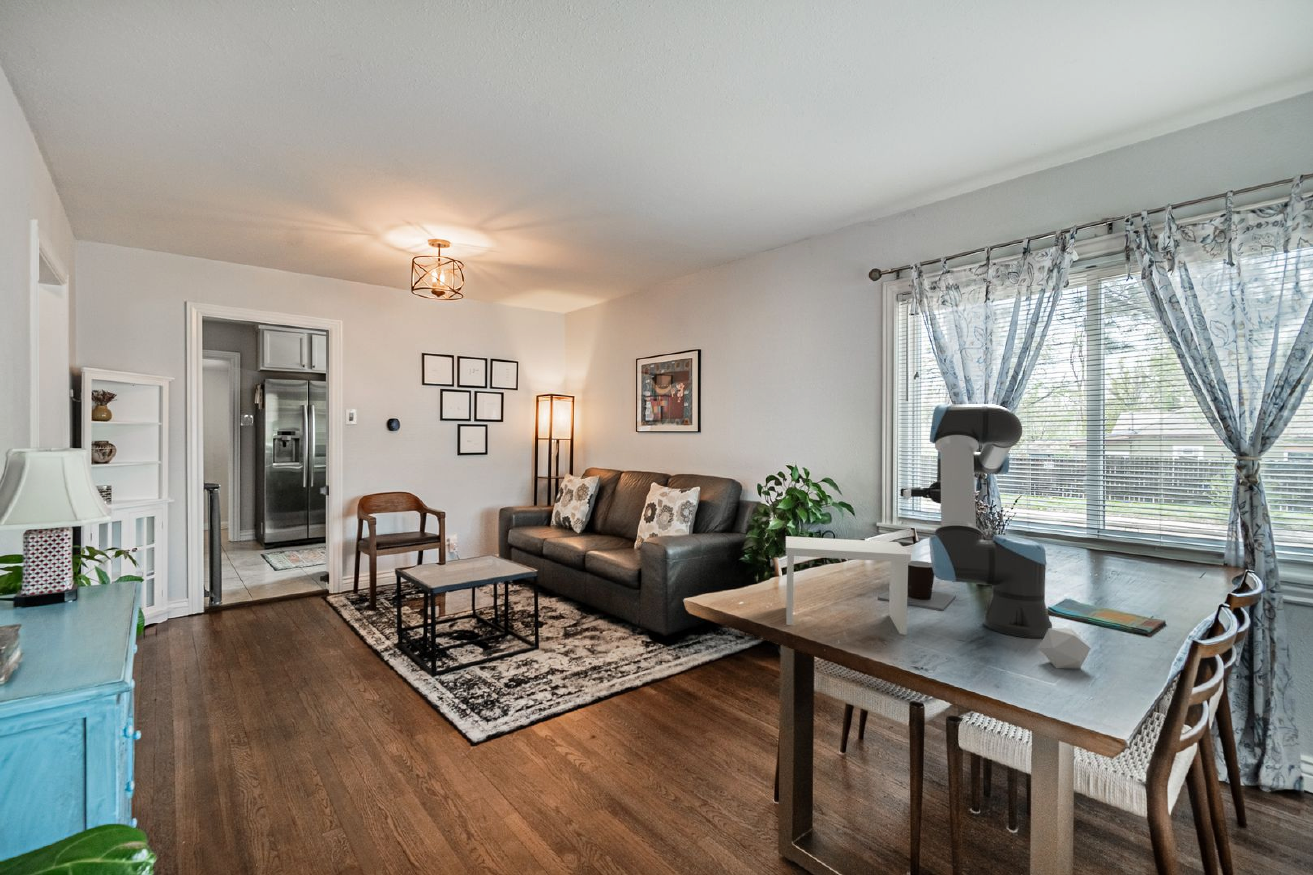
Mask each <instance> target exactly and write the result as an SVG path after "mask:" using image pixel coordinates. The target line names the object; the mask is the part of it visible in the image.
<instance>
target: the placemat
mask: <svg viewBox="0 0 1313 875" xmlns="http://www.w3.org/2000/svg"><path fill="white" fill-rule="evenodd" d="M889 591H890V588H889V589H888V590H886V591H884V592H883V593H882V594H880V595H879V596H877V600H880V601H886V602H889ZM956 598H957V595H956V594H949V593H943V592H939V591H932V595H931V599H930V600H918V599H913V598H910V597H908V591H907V606H914V607H919V608H924V609H931V610H936V611H941V612H943V611H945V610H946V609H947V607H949V605H950V604H951V603H952V602H953V601H954V600H955V599H956Z"/></svg>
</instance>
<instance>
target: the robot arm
mask: <svg viewBox="0 0 1313 875" xmlns="http://www.w3.org/2000/svg"><path fill="white" fill-rule="evenodd" d="M1021 422H1022V421H1021V420H1020V419H1019V417H1018V416H1017V415H1016V414H1015V413H1014V412H1012V411H1011V410H1009V409H1008V408H1006V407H1003V406H1000V405H997V404H992V403H990V404H986V403H985V404H983V403H982V404H981V403H980V404H953V403H948V404H947V403H946V404H938V405H937V406H935V408H934V410H933V414H932V420H931V425H930V426H931V427H930V431H929V432H930V433H929V443H932V444H934V448H935V449H936V451H937V457H936V458H937V459H936V460H937V466H936V470H937V471H936V474H937V475H936V481H934V482H933V483H932V484H930V486H929V487H923V488H921V487H911V488H908V487H907V488H905V487H904V488H902V487H901V488H900V494H899V495H900V497H903V498H902V499H903V500H909V499H911V498H916V497H917V498H918V497H919V498H923V499H930V501H932V502H934V503H936V504H940V525H939V526H938V527H937V528H936V529H935V531H934V534H933V535H930V536H929V539H928V542H929V554H930V563H931V564H932V569H933V573H934V578H935V579H938V580H940V581H946V582H947V581H948V582H952V583H963V584H964V583H966V584H976V585H984V586H991V587H992V591H991V597H990V600H989V601H988V605H987V607H986V611H985V612H984V614H983V624H984V626H985V627H986V628H989V630H993V631H995V632H998V633H1001V634H1005V635H1009V636H1015V637H1021V638H1030V639H1042V638H1044V637H1045V635H1046V633H1047V631H1048V629H1049V628H1053V623H1052V621H1051V619H1050V615H1048V612H1047V608H1048V607H1047V605H1046V602H1045V600H1046V571H1047V570H1046V566H1047V557H1046V554H1047V553H1046V549H1045V547H1044V546H1043V545H1042V544H1041V543H1038V542H1037V541H1035V540H1030V539H1027V538H1022V537H1018V536H1014V535H1008V534H1007V535H1006V534H994V535H993V537H992V539H984V534H983V531H982V530H981V529H980V528H978V527H977V520H976V519H977V516H976V492H975V474H980V475H981V474H983V475H984V474H985V475H1006V474H1008V473H1009V469H1010V455H1009V452H1010V450H1011V449H1012V447H1014V446H1015V445H1017V443H1019V441H1020V440H1021V437H1022V435H1023V426H1022V425H1023V424H1022V423H1021ZM980 445H982V447H981V450H980V451H977V450H978V449H979V448H980Z"/></svg>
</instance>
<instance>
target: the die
mask: <svg viewBox="0 0 1313 875" xmlns="http://www.w3.org/2000/svg"><path fill="white" fill-rule="evenodd" d="M1038 649H1039V651H1040V652H1041V653H1042V654H1043V655H1044V657H1046V658H1047V659H1048V661H1050V663H1051V664H1052V665H1053V666H1054V668H1056V669H1064V670H1065V669H1072V670H1073V669H1074V670H1076V669H1077V670H1079V669H1081V668H1082V666H1083V664H1084V663H1085V660H1086V659H1087V657H1088V656H1089V654H1090V653H1089V652H1090V651H1091V649H1092V648H1091V647H1090V645H1088V644H1087V643H1086V641H1084V640H1083V638H1082V637H1080V635H1078V634H1077V633H1076V631H1074V629H1072V628H1057V627H1056V628H1054V627H1052V628H1049V629H1048V631H1047V633H1046V635H1045V637H1044V638H1043V639H1042V641H1040V644H1039V646H1038Z"/></svg>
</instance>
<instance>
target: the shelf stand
mask: <svg viewBox="0 0 1313 875" xmlns="http://www.w3.org/2000/svg"><path fill="white" fill-rule="evenodd" d="M785 556H786V596H785V597H786V600H785V602H786V603H785V614H786V615H785V616H786V621H785V622H786V624H785V625H786V626H793V622H794V621H793V620H794V619H793V618H794V617H793V616H794V615H793V614H794V570H795V569H794V568H795V562H794V561H795V557H806V558H822V559H823V558H826V559H839V560H840V559H842V560H844V559H845V560H860V561H873V562H877V561H878V562H889V589H890V591H889V601H888V602H889V604H888V606H889V607H888V616H889V617H890V619H891V621H892V623H893V624H894V626H895V629H896V630H897V631H898V633H899V634H900V635H905V636H906V635H907V631H908V630H907V629H908V628H907V624H908V622H907V621H908V605H907V588H908V563H911V561H912V560H911V559H912V553H910V552H909V551H908V550H907V549H906V548H905V547H904V546H902V544H901V543H900V542H899V541H883V540H865V539H864V540H862V539H847V538H845V539H843V538H827V537H824V538H823V537H810V536H809V537H807V536H805V537H803V536H787V535H786V536H785Z"/></svg>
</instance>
